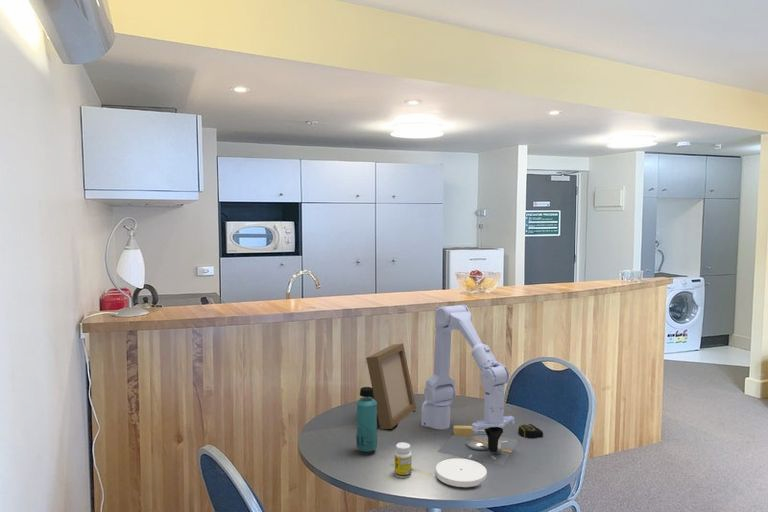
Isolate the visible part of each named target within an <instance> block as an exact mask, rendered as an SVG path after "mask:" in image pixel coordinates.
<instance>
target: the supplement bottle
mask: <svg viewBox="0 0 768 512" xmlns="http://www.w3.org/2000/svg"><path fill="white" fill-rule="evenodd" d="M412 459H413V458H412V451H411V444H410V443H407V442H402V441H401V442H398V443H397V444H396V445H395V452H394V475H395V476H396V477H397V478H399V479H406V478H409V477H411V475H412V461H413V460H412Z"/></svg>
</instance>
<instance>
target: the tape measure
mask: <svg viewBox="0 0 768 512" xmlns="http://www.w3.org/2000/svg"><path fill="white" fill-rule="evenodd" d="M517 429H518V430H517V433H518V435H519V437H523V438H524V439H537V438H538V439H539V438H543V437H544V431H543V430H541V429H540V428H539V427H536V426H535V425H533V424H531V423H527V424H525V423H524V424H521V425H519V426H518V428H517Z"/></svg>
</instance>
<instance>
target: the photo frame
mask: <svg viewBox="0 0 768 512" xmlns="http://www.w3.org/2000/svg"><path fill="white" fill-rule="evenodd" d="M405 351H406V350H405V346H404V343H396V344H391V345H389V346H387V347H386V348H385V347H384V348H383V349H381V350H379V351H377V352H375V353H372V354H371V355H369V356H367V357H365V358H366V363H367V369H368V374H369V379H370V384H371V388H373V396H371V398H373V399H374V400H375V401H376V402H377V419H378V423H379V425H378V426H379V427H380V428H379V429H380V430H391V429H393V428H394V427H396V426H397V425H398V424H399V423H400V422H401V421H402V420H403V419H405V418H406V417H407V416H408V415H410V414H412V413H413V412H414V411H415V410H416V409H417V405H416V401H415V395H414V390H413V386H412V380H411V376H410V371H409V365H408V361H407V357H406V356H407V355H406V352H405Z"/></svg>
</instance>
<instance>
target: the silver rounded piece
mask: <svg viewBox="0 0 768 512" xmlns="http://www.w3.org/2000/svg"><path fill="white" fill-rule="evenodd" d="M466 445H467V447H469V448H470V449H473V450H479V451H484V450H488V451H490V450H489V449H488V438H486V437H481V436H473V437H469V438H467V439H466ZM490 452H491V451H490ZM493 454H496V455H499V454H501V439H499V440H498V449H497V452H493Z"/></svg>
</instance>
